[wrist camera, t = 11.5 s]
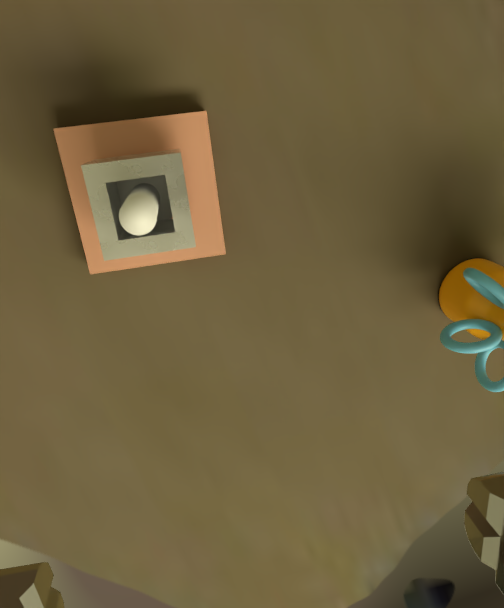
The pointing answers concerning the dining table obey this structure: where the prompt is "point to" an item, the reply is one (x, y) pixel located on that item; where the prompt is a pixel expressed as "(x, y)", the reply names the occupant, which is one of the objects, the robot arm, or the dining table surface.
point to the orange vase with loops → (475, 312)
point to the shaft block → (145, 183)
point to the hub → (108, 204)
